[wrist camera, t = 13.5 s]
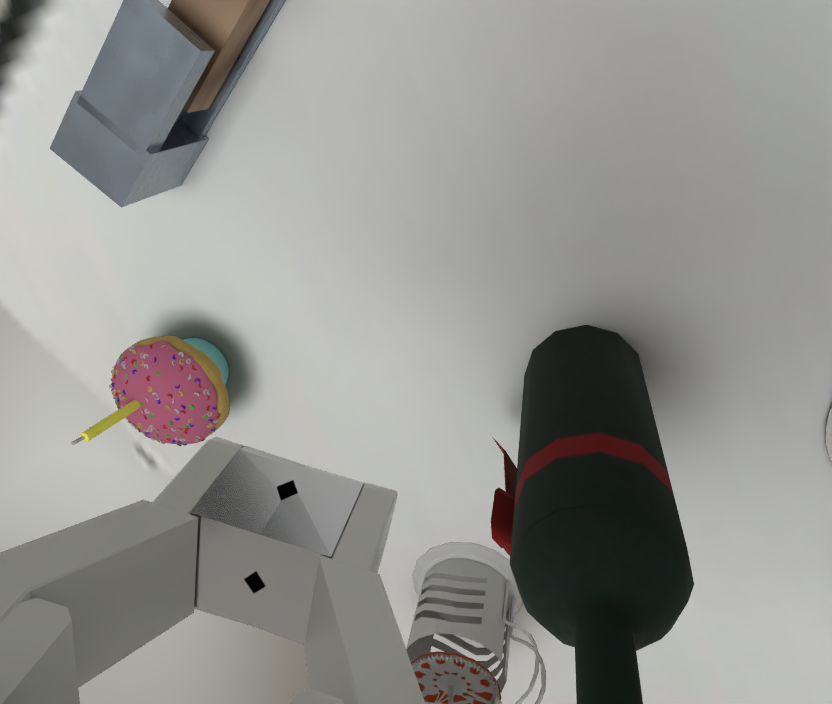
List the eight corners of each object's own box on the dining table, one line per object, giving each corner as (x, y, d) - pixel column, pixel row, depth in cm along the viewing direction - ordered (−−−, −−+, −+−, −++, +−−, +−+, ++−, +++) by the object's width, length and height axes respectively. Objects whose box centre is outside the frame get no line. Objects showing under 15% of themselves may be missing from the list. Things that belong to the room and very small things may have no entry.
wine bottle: (475, 369, 43) (350, 870, 17) (611, 304, 39) (724, 831, 13) (529, 452, 45) (493, 1012, 19) (663, 400, 41) (852, 1016, 15)
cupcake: (154, 395, 50) (48, 488, 40) (148, 302, 46) (29, 377, 36) (252, 420, 49) (170, 521, 39) (254, 327, 45) (164, 411, 35)
